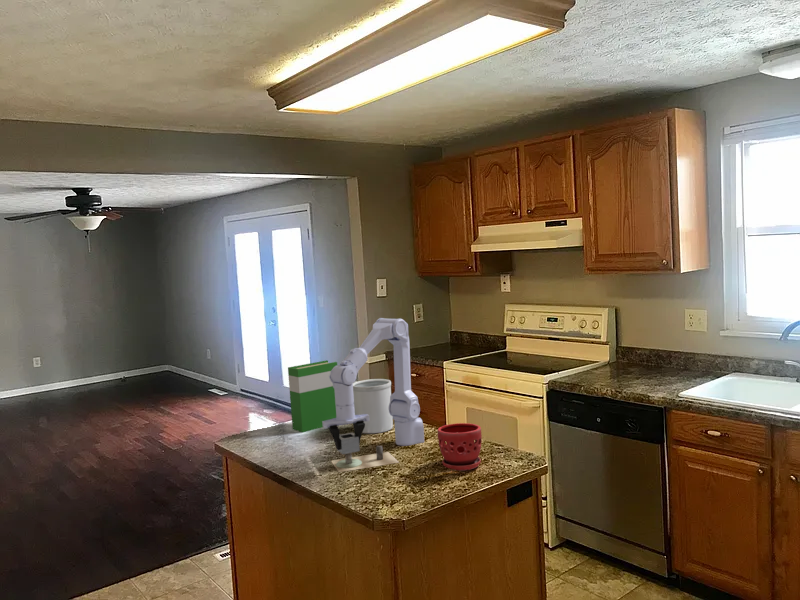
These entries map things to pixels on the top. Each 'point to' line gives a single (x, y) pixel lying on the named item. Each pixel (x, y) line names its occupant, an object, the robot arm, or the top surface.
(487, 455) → the top surface
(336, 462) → the board
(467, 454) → the plant pot
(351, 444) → the steel collar
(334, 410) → the hardback book
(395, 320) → the robot arm
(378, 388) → the utensil holder
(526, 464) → the top surface
